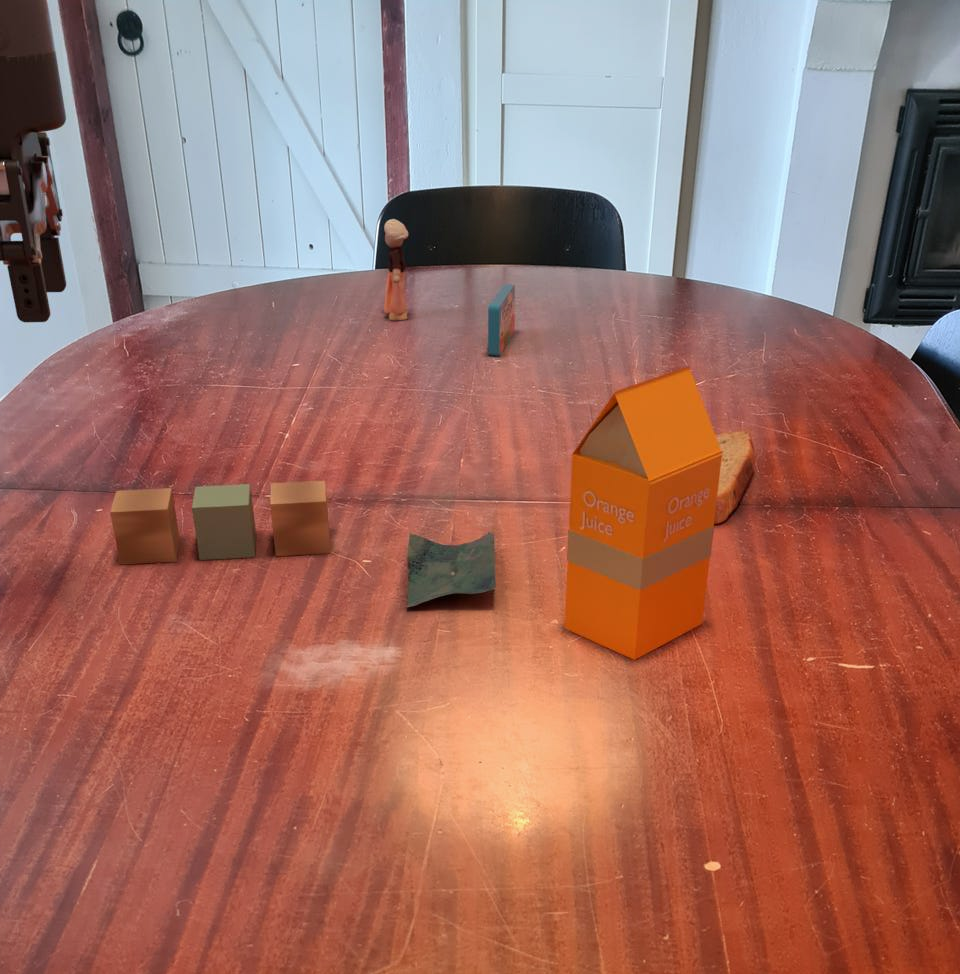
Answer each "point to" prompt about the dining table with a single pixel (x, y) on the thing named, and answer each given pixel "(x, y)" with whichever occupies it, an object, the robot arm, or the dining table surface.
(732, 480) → the bread slice
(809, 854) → the dining table surface
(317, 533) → the beech block right
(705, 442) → the orange juice
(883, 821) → the dining table surface
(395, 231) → the grandmother figurine
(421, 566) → the terrain model
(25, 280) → the robot arm
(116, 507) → the beech block left
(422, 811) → the dining table surface
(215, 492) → the sage block
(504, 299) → the teal flat box
